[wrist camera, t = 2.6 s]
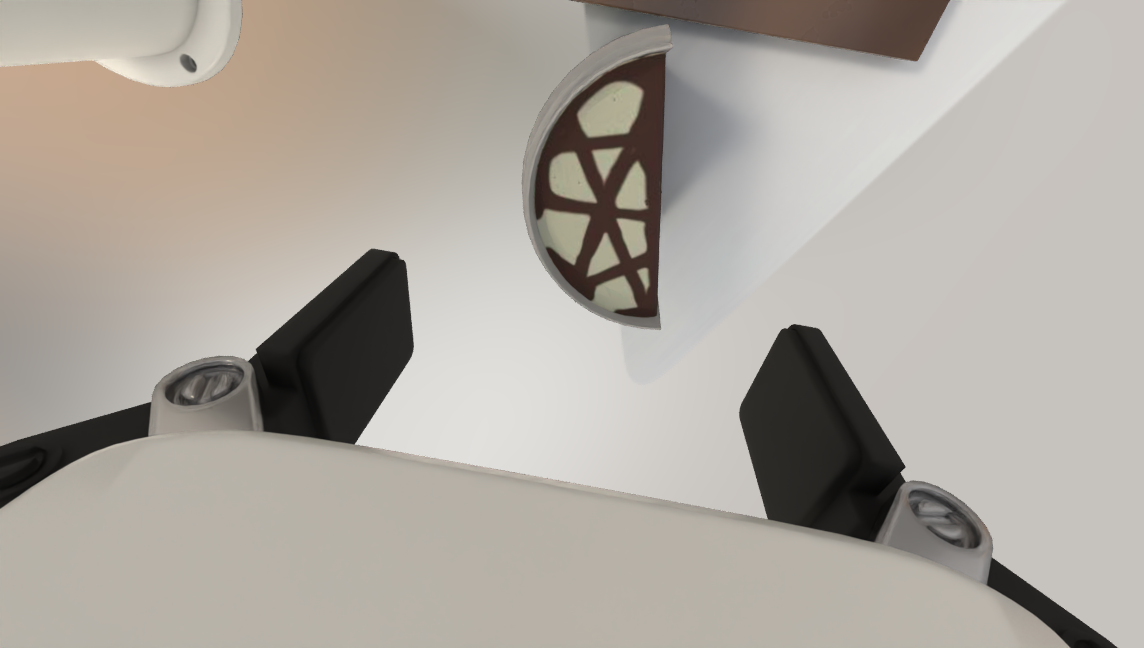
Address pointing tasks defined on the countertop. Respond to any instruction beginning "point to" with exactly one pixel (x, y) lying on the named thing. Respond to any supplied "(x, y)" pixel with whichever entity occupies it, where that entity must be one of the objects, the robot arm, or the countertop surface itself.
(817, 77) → the countertop surface
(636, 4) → the cutting board
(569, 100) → the food container
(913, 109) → the countertop surface
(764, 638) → the robot arm
